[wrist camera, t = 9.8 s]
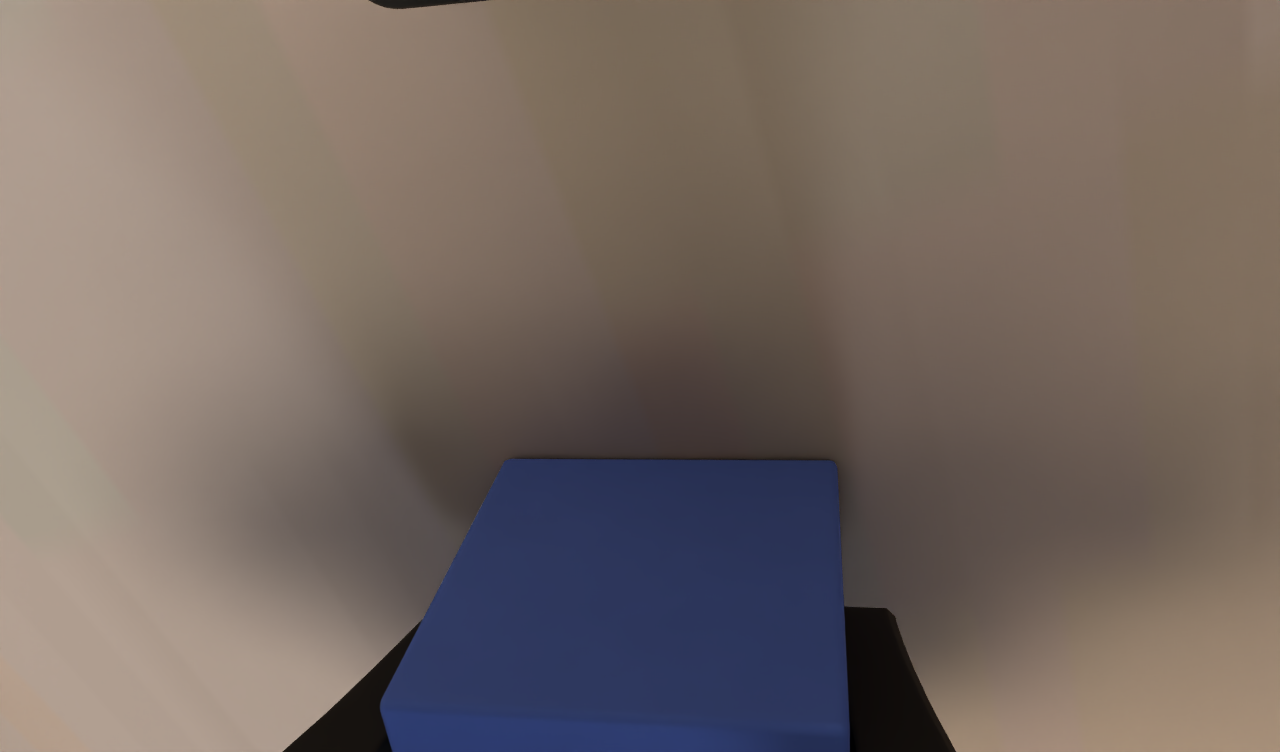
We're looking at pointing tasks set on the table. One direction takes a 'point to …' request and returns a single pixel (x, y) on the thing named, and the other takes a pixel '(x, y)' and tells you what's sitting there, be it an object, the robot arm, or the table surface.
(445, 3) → the multiport hub
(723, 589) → the blue rounded cube
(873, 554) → the table surface
